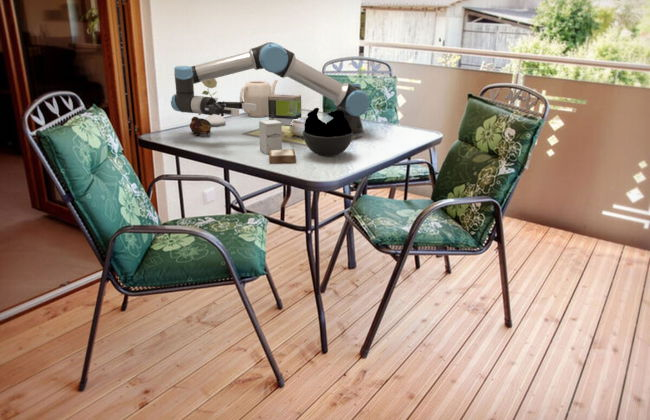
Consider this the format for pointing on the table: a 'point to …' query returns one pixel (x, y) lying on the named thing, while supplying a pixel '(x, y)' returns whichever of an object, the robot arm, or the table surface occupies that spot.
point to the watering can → (257, 96)
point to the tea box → (284, 108)
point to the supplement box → (270, 135)
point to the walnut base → (282, 156)
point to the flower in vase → (215, 118)
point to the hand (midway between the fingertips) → (247, 109)
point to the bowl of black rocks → (327, 133)
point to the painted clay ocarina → (200, 126)
